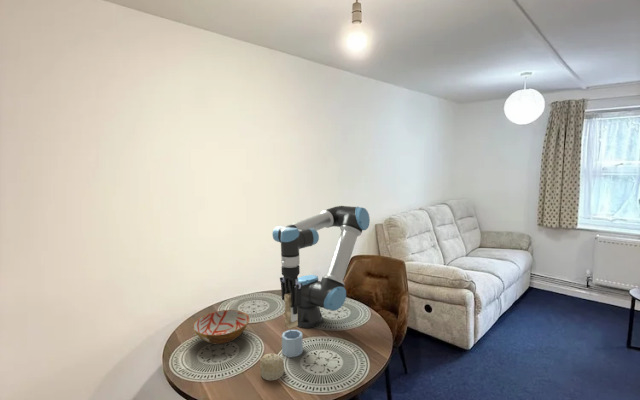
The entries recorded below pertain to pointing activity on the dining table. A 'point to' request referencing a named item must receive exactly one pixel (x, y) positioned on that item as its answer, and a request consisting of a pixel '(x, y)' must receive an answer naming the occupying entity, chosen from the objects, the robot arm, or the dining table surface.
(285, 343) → the jar
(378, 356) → the dining table surface
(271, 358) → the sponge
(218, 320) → the bowl
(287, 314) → the tan bar
